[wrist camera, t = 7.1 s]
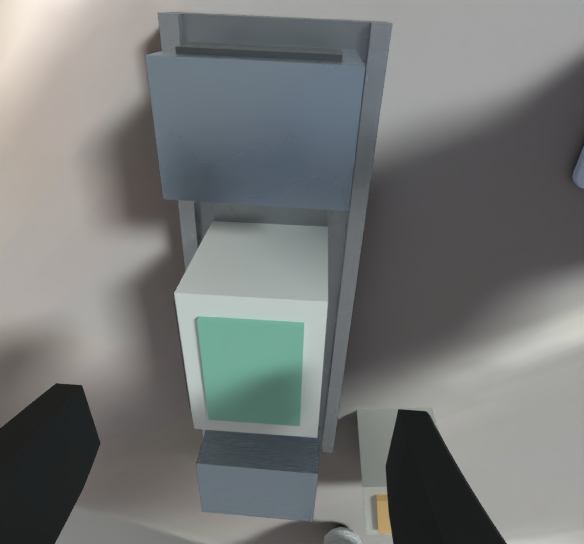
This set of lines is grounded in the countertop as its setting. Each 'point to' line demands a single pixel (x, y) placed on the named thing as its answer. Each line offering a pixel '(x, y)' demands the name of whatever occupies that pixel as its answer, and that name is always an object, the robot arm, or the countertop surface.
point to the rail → (271, 193)
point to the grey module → (255, 328)
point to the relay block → (377, 464)
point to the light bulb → (341, 536)
